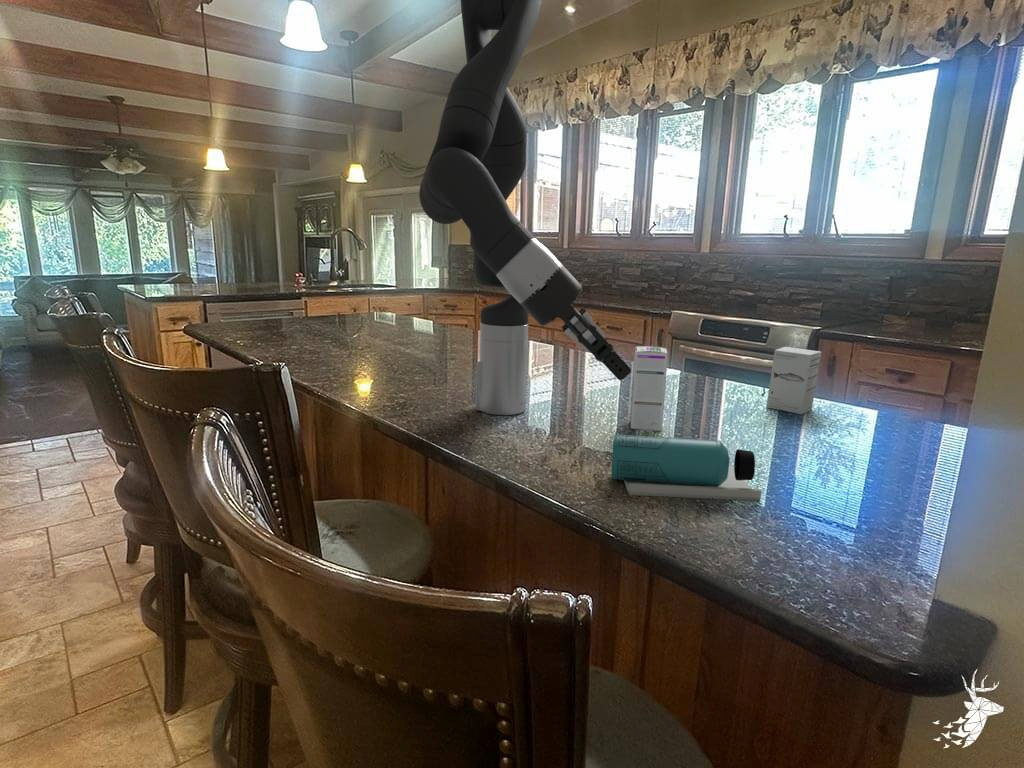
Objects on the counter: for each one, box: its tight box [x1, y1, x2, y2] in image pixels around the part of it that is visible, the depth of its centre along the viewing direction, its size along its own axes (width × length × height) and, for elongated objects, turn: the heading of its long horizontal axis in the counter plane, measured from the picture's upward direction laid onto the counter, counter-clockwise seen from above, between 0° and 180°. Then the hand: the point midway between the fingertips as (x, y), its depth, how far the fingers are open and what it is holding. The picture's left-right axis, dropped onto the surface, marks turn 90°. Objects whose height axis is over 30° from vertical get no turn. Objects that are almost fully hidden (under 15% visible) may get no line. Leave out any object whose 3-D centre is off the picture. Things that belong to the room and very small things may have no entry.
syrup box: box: [630, 345, 669, 432], centre depth 104 cm, size 6×6×14 cm
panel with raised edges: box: [623, 456, 762, 502], centre depth 81 cm, size 17×13×1 cm
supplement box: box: [766, 346, 823, 416], centre depth 119 cm, size 7×7×13 cm
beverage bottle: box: [611, 433, 756, 487], centre depth 78 cm, size 6×7×20 cm
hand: (625, 375), depth 78 cm, fingers closed
